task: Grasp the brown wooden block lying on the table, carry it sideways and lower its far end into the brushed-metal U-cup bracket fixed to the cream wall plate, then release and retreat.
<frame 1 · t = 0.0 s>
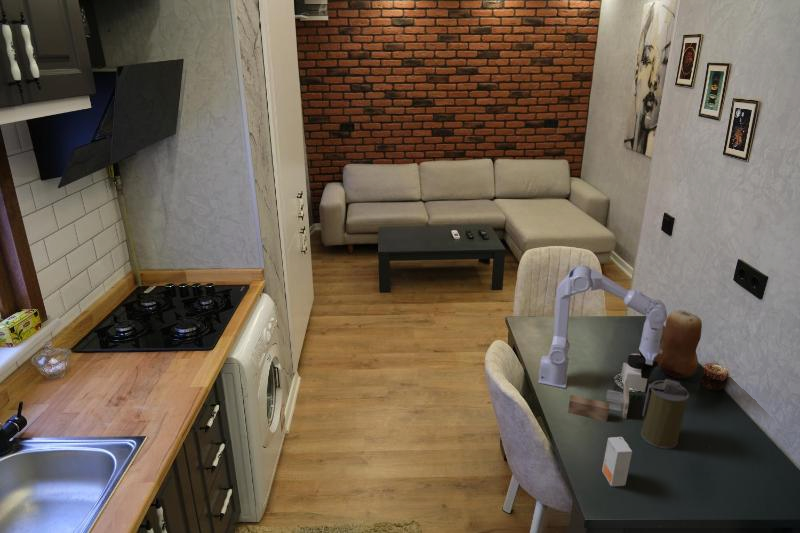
hand: (644, 372, 180), 10 cm above the table, fingers open, 6 cm apart
canister: (657, 437, 165), on the table
skincare box: (613, 479, 149), on the table
butternut squash: (672, 375, 197), on the table
brown wooden block: (587, 414, 176), on the table
cup bracket: (613, 404, 181), on the table
medicine bottle: (632, 386, 191), on the table, touching gripper
wall plate: (625, 398, 178), on the table
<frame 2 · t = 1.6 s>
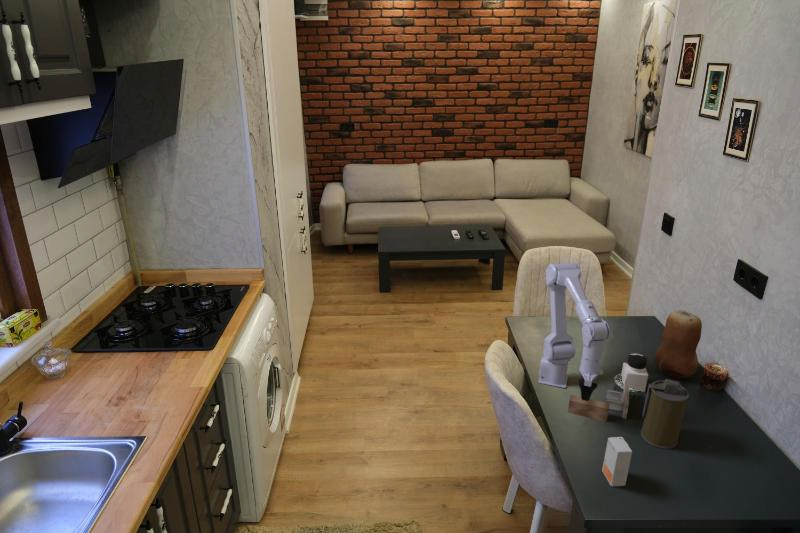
hand: (585, 393, 173), 8 cm above the table, fingers open, 7 cm apart
medicine bottle: (632, 386, 191), on the table
everything else where it was.
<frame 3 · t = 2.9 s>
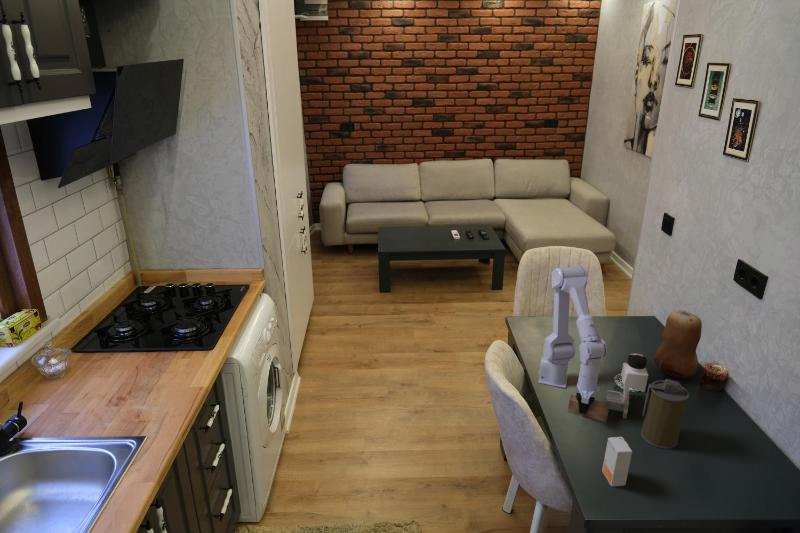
hand: (583, 409, 175), 1 cm above the table, fingers closed on brown wooden block, 3 cm apart
brown wooden block: (587, 414, 175), on the table, touching gripper
everything else where it was.
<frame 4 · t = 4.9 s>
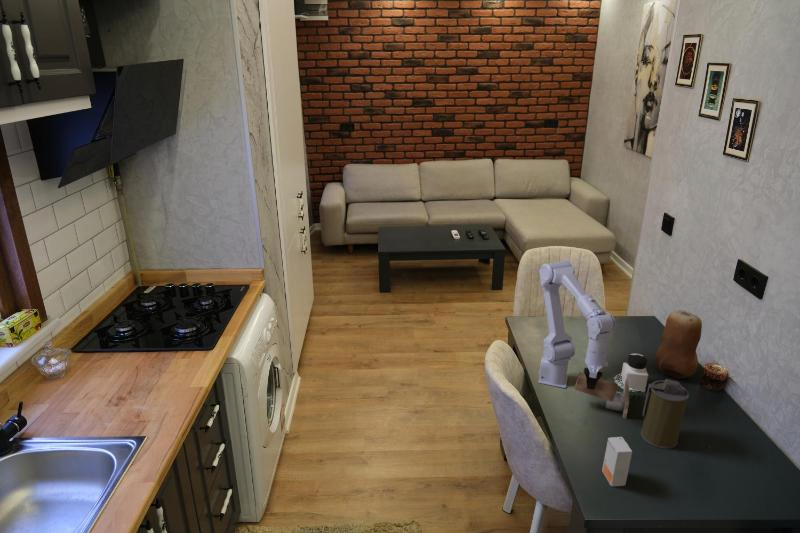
hand: (590, 385, 175), 9 cm above the table, fingers closed on brown wooden block, 3 cm apart
brown wooden block: (593, 392, 176), point 6 cm above the table, tilted 8°, touching gripper
everything else where it was.
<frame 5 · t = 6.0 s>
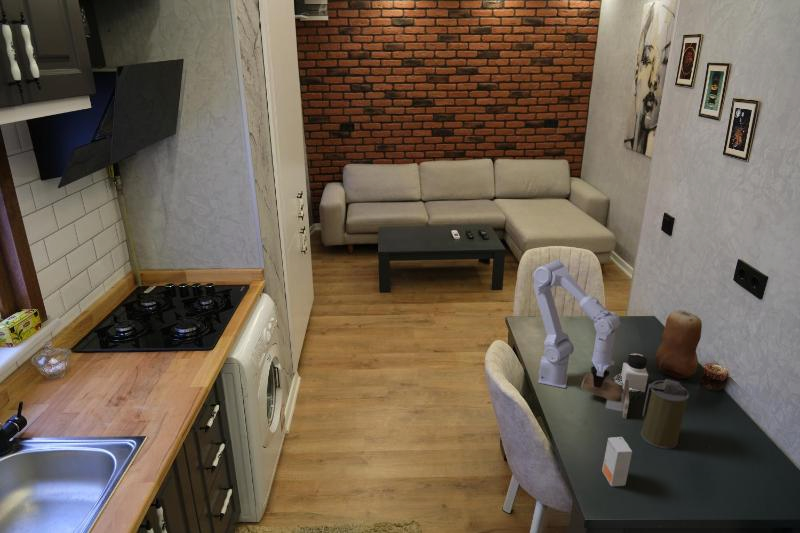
hand: (597, 383, 180), 7 cm above the table, fingers closed on brown wooden block, 3 cm apart
brown wooden block: (599, 392, 181), point 3 cm above the table, tilted 13°, touching gripper
everything else where it was.
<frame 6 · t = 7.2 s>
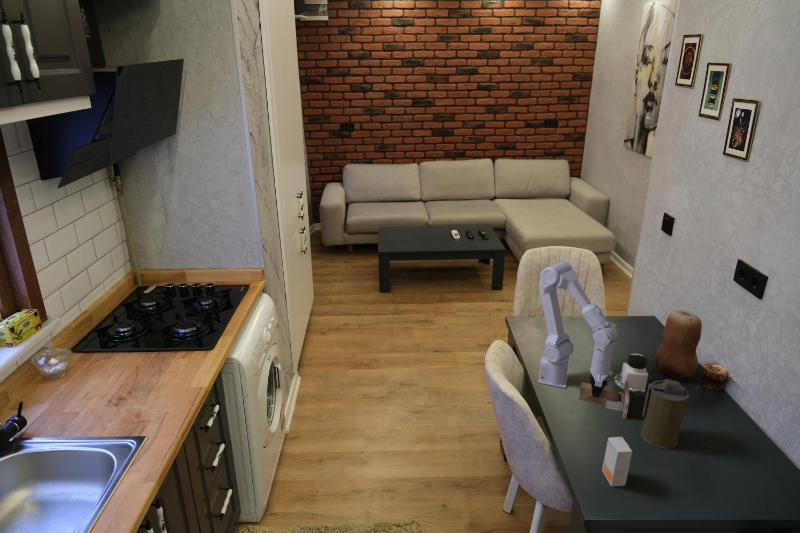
hand: (595, 393, 182), 3 cm above the table, fingers closed on brown wooden block, 3 cm apart
brown wooden block: (597, 400, 182), on the table, touching gripper
everything else where it was.
when the fingers open (3 cm above the table, at t = 7.2 s): brown wooden block stays where it is, on the table.
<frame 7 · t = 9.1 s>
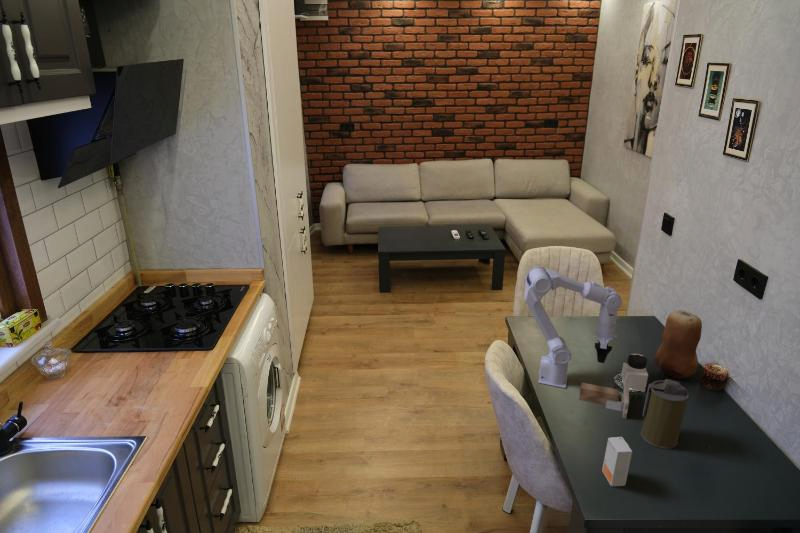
hand: (601, 356, 189), 10 cm above the table, fingers open, 7 cm apart
brown wooden block: (597, 401, 182), on the table
everything else where it was.
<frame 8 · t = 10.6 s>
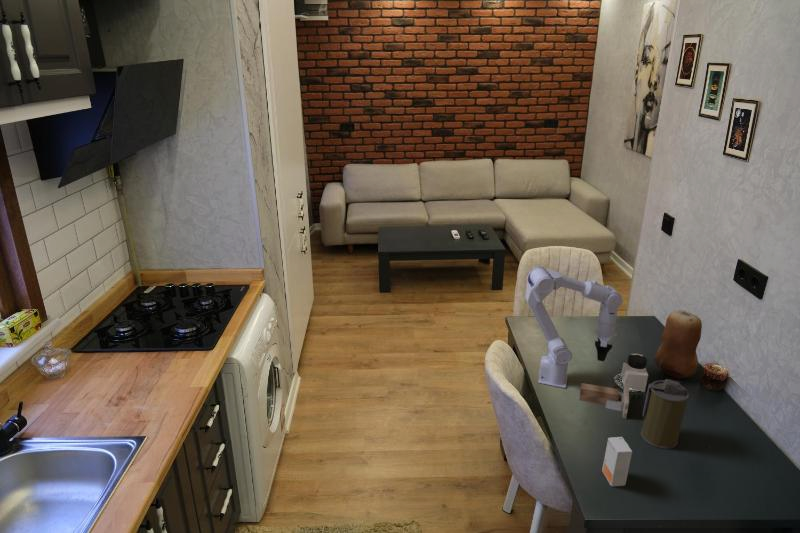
hand: (601, 355, 190), 10 cm above the table, fingers open, 7 cm apart
nothing on the table moved.
at the end: brown wooden block 0.1 cm from the target spot on the table beside the cup bracket, on the table; brown wooden block tilted 0°; the gripper is holding nothing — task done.
